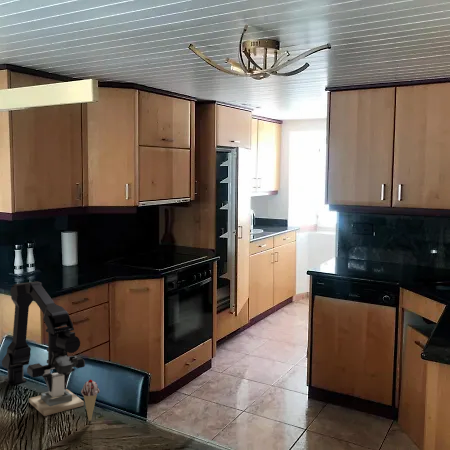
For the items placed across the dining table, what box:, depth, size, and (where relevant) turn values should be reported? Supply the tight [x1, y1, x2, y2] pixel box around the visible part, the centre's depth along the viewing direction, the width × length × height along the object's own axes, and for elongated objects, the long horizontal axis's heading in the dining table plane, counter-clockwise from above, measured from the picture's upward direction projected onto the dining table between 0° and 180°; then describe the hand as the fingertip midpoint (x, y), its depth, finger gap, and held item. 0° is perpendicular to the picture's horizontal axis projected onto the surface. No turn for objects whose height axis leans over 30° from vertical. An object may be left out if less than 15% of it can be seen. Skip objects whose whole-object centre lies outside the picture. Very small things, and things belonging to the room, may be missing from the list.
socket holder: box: [28, 388, 85, 417], centre depth 177 cm, size 14×14×4 cm
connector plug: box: [48, 372, 65, 397], centre depth 177 cm, size 4×4×7 cm
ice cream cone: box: [80, 379, 100, 425], centre depth 162 cm, size 6×6×15 cm
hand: (56, 390), depth 177 cm, fingers closed on connector plug, 4 cm apart
